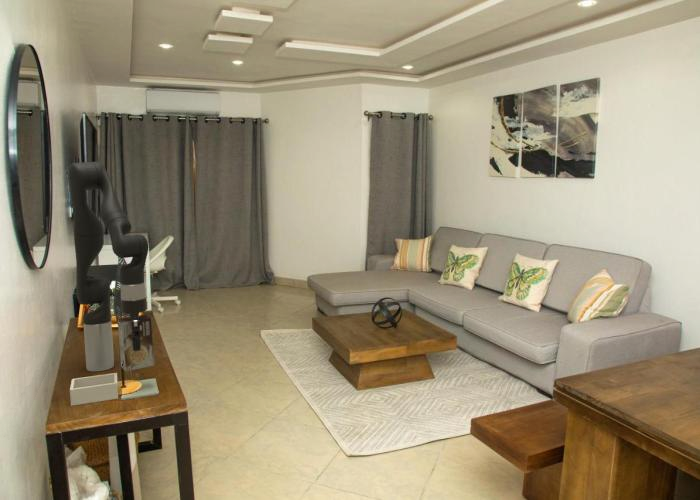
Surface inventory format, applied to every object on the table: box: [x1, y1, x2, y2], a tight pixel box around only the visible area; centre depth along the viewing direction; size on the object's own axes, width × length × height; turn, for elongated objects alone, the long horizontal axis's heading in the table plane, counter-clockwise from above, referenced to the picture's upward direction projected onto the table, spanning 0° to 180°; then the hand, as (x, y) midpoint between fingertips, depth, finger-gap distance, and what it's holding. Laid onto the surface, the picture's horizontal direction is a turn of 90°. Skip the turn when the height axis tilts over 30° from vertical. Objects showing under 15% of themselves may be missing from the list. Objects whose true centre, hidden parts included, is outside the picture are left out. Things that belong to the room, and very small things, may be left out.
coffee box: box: [117, 314, 155, 372], centre depth 172 cm, size 9×6×16 cm
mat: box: [120, 377, 160, 401], centre depth 174 cm, size 14×11×1 cm
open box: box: [69, 372, 119, 407], centre depth 169 cm, size 10×13×5 cm
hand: (136, 347), depth 172 cm, fingers closed on coffee box, 7 cm apart
